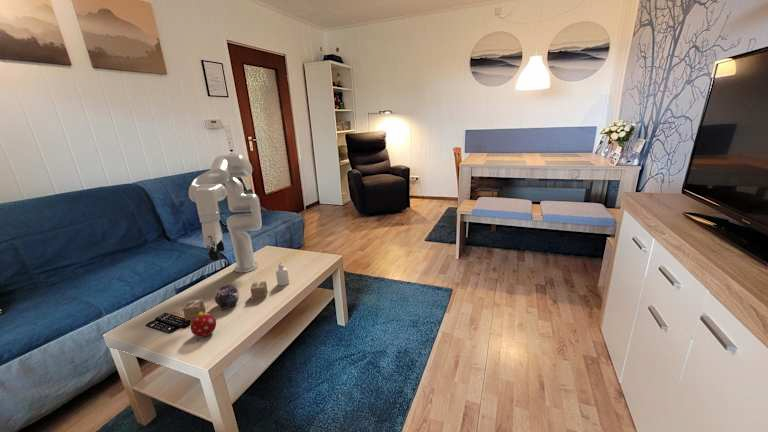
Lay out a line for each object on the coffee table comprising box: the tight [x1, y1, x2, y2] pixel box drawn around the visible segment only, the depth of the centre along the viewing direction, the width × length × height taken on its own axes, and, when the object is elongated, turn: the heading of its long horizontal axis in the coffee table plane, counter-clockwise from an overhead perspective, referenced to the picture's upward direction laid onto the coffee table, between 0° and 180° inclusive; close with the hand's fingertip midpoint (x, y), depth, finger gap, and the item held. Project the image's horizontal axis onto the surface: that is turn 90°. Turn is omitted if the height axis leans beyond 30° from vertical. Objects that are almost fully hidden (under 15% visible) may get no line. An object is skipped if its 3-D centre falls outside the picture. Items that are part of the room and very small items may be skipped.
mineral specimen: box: [214, 283, 240, 310], centre depth 140 cm, size 10×10×10 cm
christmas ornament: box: [190, 312, 217, 338], centre depth 120 cm, size 9×9×10 cm
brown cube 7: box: [182, 298, 207, 322], centre depth 133 cm, size 6×6×6 cm
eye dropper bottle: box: [275, 261, 290, 287], centre depth 156 cm, size 4×6×12 cm
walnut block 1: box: [250, 280, 268, 301], centre depth 147 cm, size 6×6×6 cm
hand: (217, 255), depth 134 cm, fingers open, 9 cm apart
